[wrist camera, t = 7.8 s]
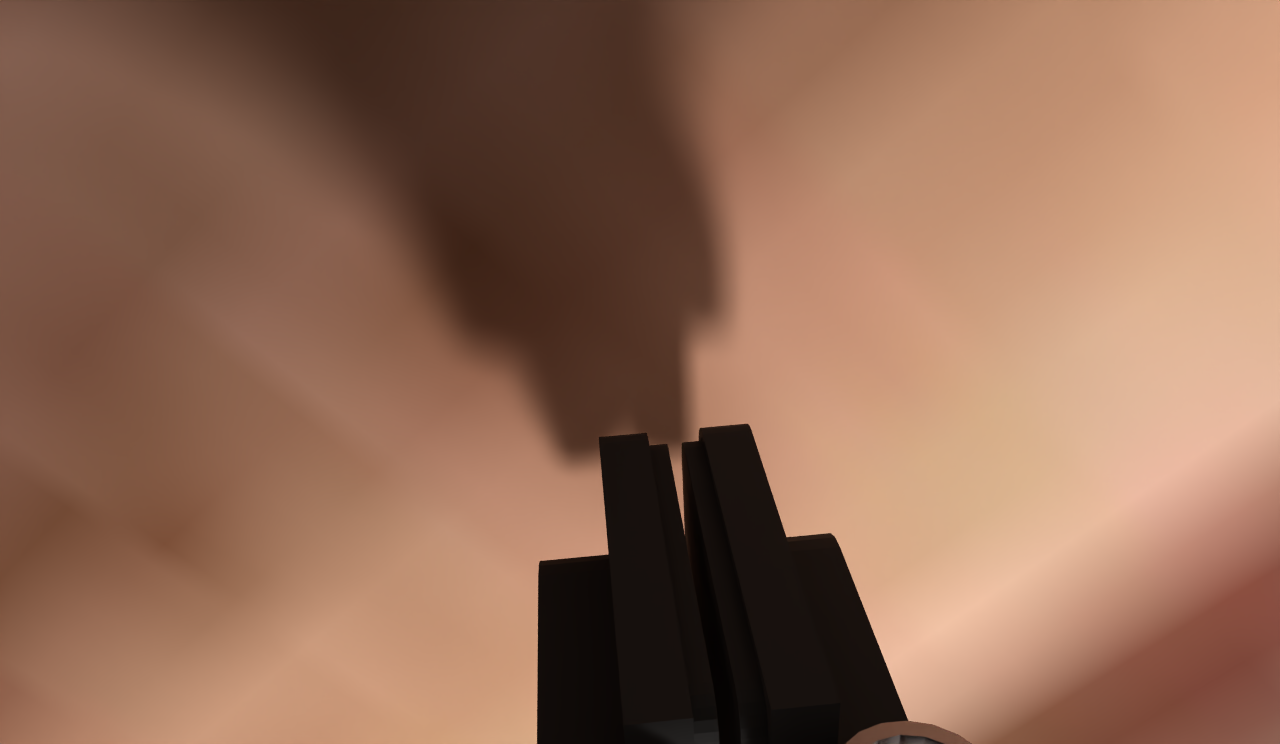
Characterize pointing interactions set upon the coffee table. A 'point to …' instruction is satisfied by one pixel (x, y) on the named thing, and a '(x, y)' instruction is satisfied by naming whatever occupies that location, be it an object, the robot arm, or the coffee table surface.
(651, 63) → the coffee table surface
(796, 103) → the coffee table surface
